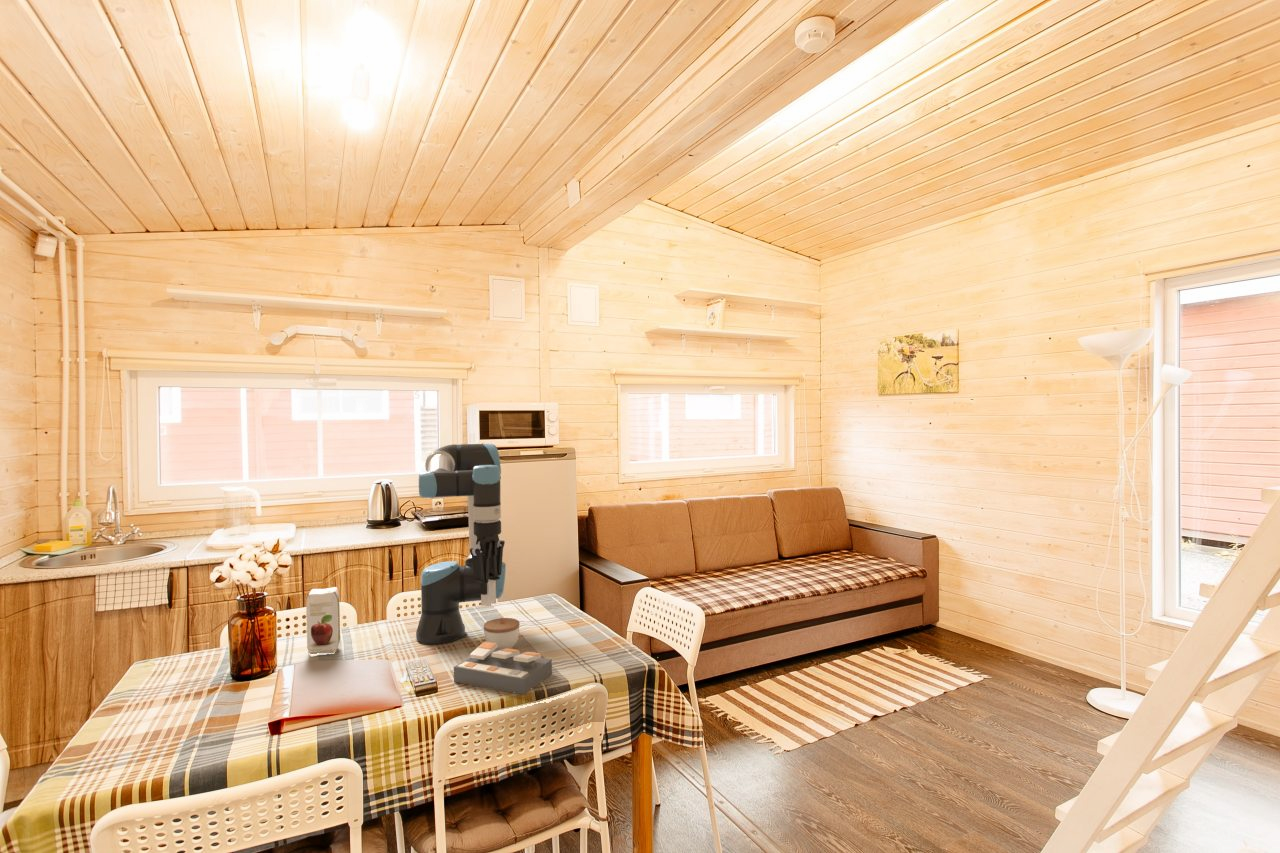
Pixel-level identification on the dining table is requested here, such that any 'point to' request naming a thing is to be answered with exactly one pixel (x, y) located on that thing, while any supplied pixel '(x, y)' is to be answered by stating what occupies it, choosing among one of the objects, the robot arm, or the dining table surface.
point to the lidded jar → (502, 632)
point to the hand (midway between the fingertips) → (488, 603)
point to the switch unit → (503, 673)
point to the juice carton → (323, 620)
